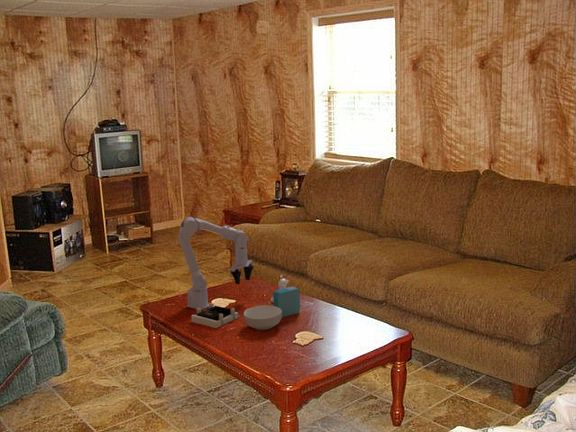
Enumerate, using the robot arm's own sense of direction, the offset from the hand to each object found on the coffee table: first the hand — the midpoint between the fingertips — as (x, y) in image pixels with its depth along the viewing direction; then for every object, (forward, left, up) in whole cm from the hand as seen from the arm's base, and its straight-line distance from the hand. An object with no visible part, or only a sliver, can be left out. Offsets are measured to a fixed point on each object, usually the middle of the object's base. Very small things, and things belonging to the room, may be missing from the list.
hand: (242, 281), depth 313 cm
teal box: (+29, -3, -10) cm, 31 cm away
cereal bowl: (+29, -21, -10) cm, 37 cm away
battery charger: (+4, -26, -10) cm, 28 cm away
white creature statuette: (+17, +10, -10) cm, 22 cm away
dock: (+5, -25, -10) cm, 28 cm away
